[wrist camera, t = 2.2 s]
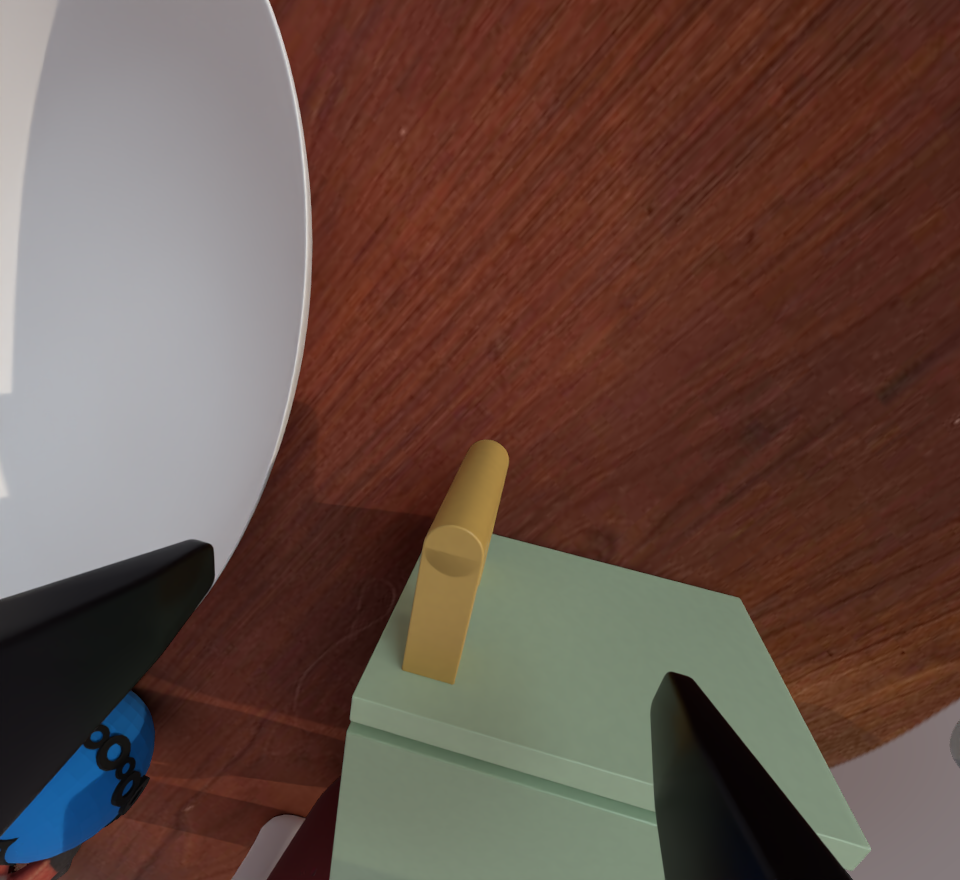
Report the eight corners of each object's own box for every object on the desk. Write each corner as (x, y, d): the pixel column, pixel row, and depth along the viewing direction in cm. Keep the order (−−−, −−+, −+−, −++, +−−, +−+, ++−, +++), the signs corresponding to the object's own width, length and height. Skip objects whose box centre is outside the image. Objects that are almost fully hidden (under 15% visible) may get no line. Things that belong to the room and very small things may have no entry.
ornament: (63, 706, 32) (-141, 889, 22) (77, 625, 28) (-157, 801, 19) (176, 763, 32) (21, 967, 23) (203, 689, 28) (33, 894, 19)
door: (456, 411, 19) (370, 534, 10) (795, 491, 18) (1007, 703, 9) (433, 537, 21) (348, 721, 13) (730, 615, 20) (853, 872, 12)
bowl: (113, -146, 14) (-174, -404, 9) (507, 152, 16) (476, 92, 10) (-17, 512, 26) (-175, 581, 20) (214, 654, 27) (124, 757, 22)
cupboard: (433, 539, 22) (345, 732, 13) (727, 617, 21) (851, 885, 12) (406, 688, 26) (324, 915, 17) (652, 760, 24) (704, 1042, 16)
